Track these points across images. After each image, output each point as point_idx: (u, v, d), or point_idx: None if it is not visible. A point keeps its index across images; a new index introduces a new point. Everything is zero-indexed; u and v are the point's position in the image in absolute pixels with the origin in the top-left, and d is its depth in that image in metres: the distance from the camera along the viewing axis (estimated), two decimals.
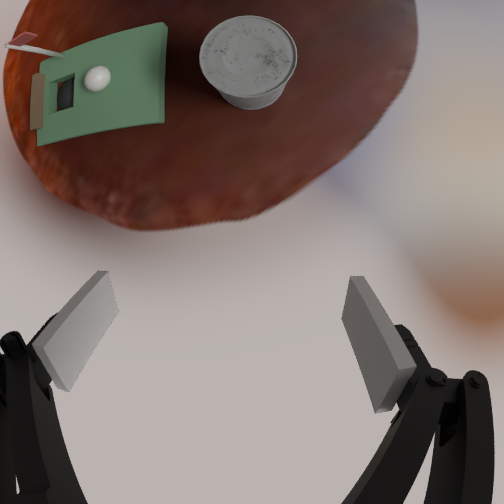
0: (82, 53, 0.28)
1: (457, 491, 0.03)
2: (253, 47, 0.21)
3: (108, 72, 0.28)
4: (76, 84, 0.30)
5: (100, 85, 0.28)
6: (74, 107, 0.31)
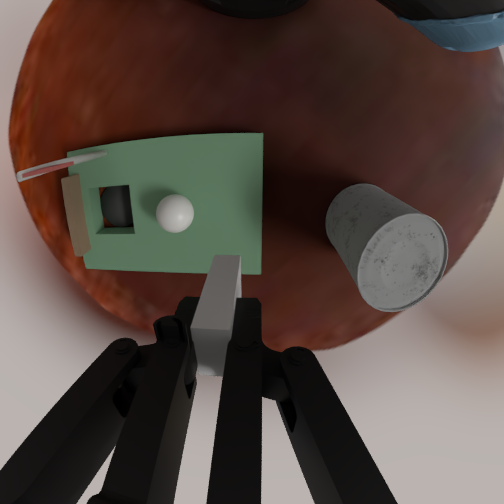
0: (136, 156, 0.27)
1: (327, 479, 0.05)
2: (411, 257, 0.21)
3: (192, 209, 0.28)
4: (134, 203, 0.29)
5: (183, 229, 0.28)
6: (136, 234, 0.31)
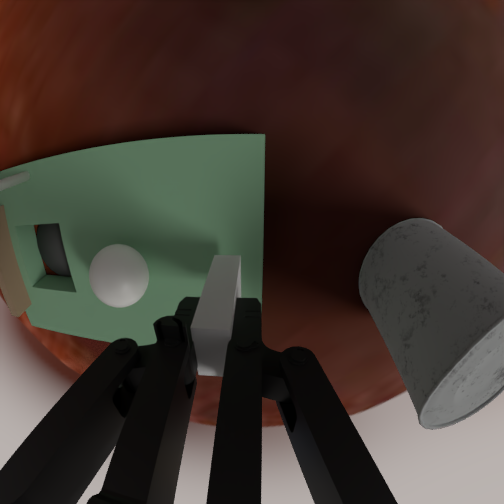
0: (63, 180, 0.15)
1: (327, 479, 0.05)
2: (499, 361, 0.09)
3: (144, 271, 0.16)
4: (69, 251, 0.18)
5: (133, 302, 0.16)
6: (78, 294, 0.19)
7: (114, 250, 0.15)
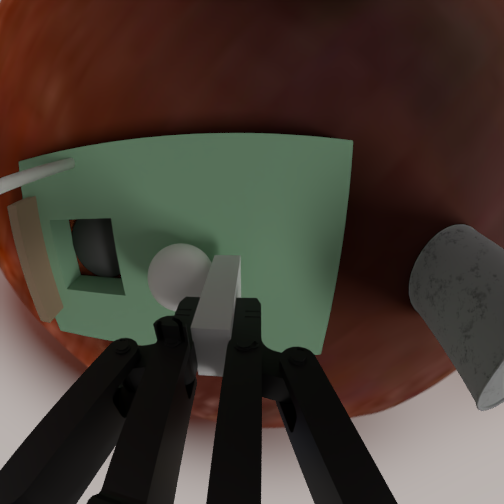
0: (122, 170, 0.15)
1: (327, 479, 0.05)
2: None
3: None
4: (122, 250, 0.17)
5: None
6: (128, 297, 0.19)
7: (179, 251, 0.15)
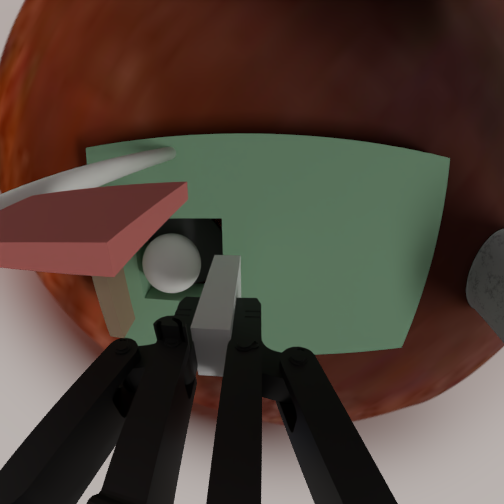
0: (242, 166, 0.15)
1: (327, 479, 0.05)
2: None
3: None
4: (230, 253, 0.17)
5: None
6: None
7: (176, 235, 0.17)
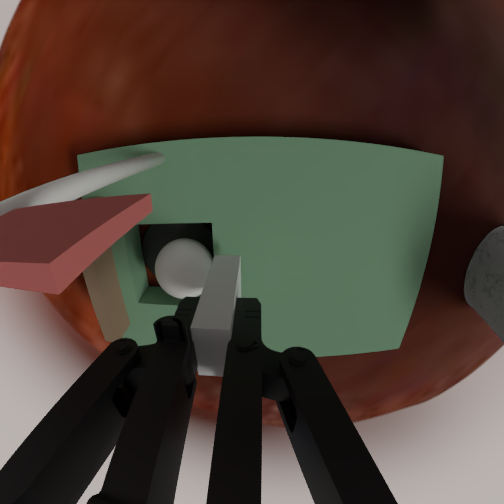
0: (231, 169, 0.15)
1: (327, 479, 0.05)
2: None
3: None
4: None
5: None
6: None
7: (186, 239, 0.18)
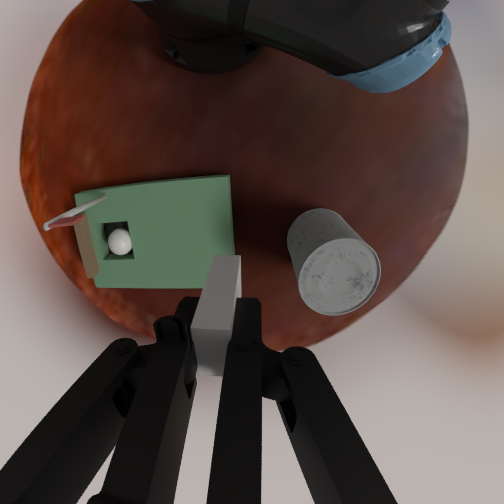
0: (131, 199, 0.35)
1: (327, 479, 0.05)
2: (345, 271, 0.29)
3: None
4: (133, 235, 0.38)
5: None
6: (136, 259, 0.39)
7: (120, 228, 0.38)
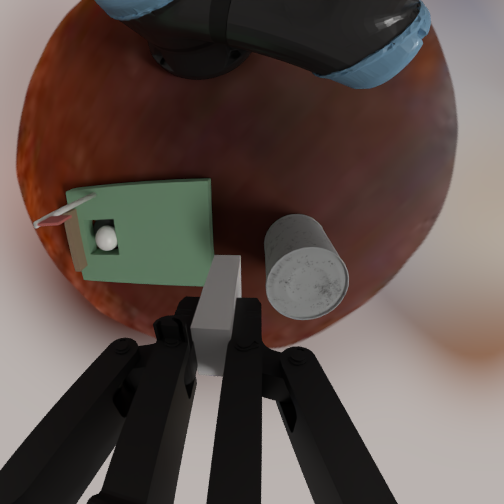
0: (117, 198, 0.37)
1: (327, 479, 0.05)
2: (313, 279, 0.30)
3: None
4: (118, 233, 0.39)
5: None
6: (120, 255, 0.40)
7: None
